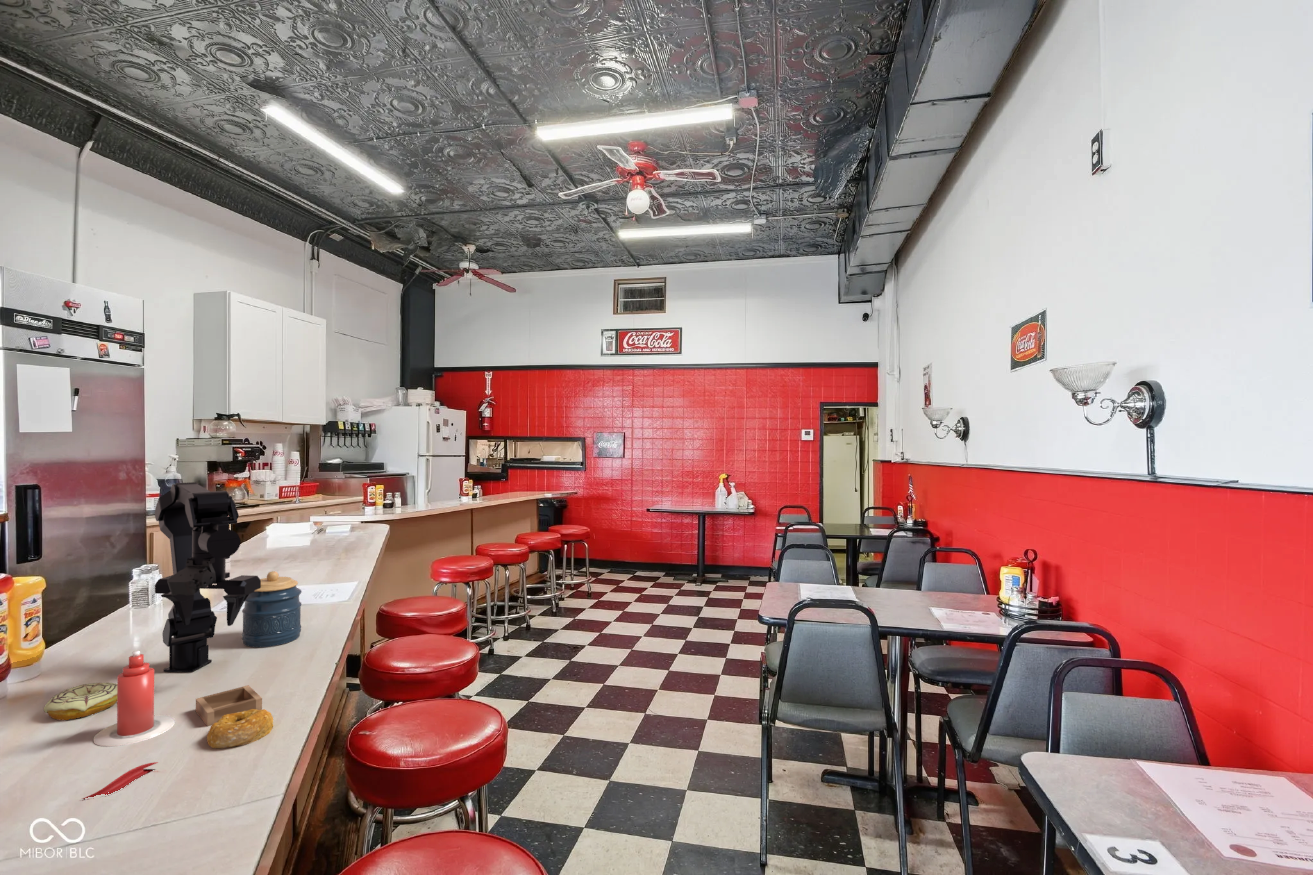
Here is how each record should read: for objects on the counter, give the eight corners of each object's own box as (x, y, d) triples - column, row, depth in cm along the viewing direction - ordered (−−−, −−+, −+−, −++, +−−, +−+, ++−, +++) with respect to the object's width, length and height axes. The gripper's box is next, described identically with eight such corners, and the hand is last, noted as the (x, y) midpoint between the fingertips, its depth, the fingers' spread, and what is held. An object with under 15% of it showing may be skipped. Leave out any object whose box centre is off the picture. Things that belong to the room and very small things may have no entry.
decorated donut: (28, 723, 112) (28, 703, 112) (79, 698, 123) (79, 679, 123) (89, 722, 113) (89, 701, 113) (134, 697, 124) (134, 678, 124)
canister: (306, 629, 166) (306, 564, 166) (294, 645, 154) (295, 575, 153) (250, 633, 162) (251, 567, 162) (234, 650, 150) (234, 578, 149)
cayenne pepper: (79, 810, 88) (79, 796, 88) (69, 799, 90) (69, 786, 90) (179, 771, 98) (179, 759, 98) (167, 762, 100) (167, 751, 100)
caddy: (195, 714, 116) (195, 698, 116) (248, 699, 123) (248, 685, 123) (207, 729, 111) (207, 712, 110) (261, 713, 117) (262, 697, 117)
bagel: (279, 719, 115) (278, 694, 115) (268, 748, 105) (267, 720, 105) (215, 729, 111) (215, 703, 111) (197, 760, 101) (197, 731, 101)
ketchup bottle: (110, 732, 107) (111, 653, 107) (144, 719, 112) (144, 645, 112) (126, 738, 105) (127, 658, 105) (160, 725, 110) (160, 649, 110)
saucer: (75, 748, 103) (75, 744, 103) (131, 718, 114) (131, 714, 114) (139, 750, 103) (139, 745, 103) (190, 719, 114) (190, 715, 114)
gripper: (131, 558, 120) (131, 637, 121) (225, 559, 120) (225, 638, 120) (176, 547, 132) (175, 619, 132) (262, 549, 131) (262, 621, 132)
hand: (208, 625), depth 129 cm, fingers open, 9 cm apart
